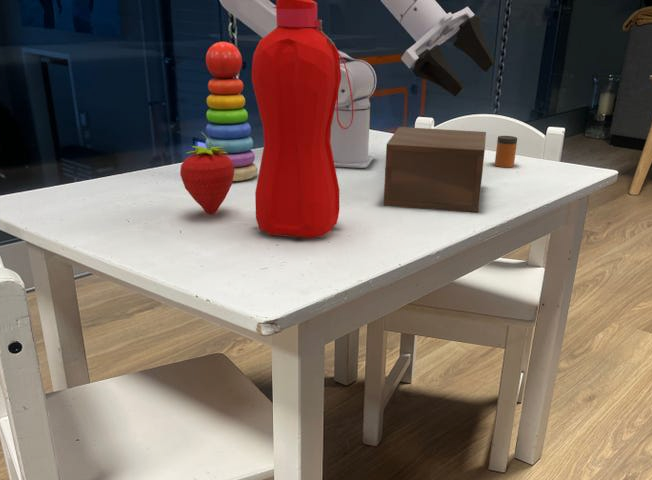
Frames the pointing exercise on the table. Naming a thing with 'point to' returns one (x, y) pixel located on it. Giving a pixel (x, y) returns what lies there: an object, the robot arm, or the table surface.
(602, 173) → the table surface
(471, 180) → the cabinet
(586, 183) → the table surface
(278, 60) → the water bottle
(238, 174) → the stacking toy
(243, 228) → the table surface
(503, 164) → the spice bottle
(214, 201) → the strawberry
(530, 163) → the table surface
